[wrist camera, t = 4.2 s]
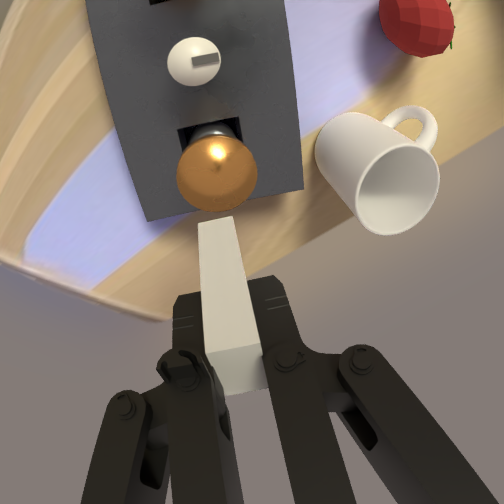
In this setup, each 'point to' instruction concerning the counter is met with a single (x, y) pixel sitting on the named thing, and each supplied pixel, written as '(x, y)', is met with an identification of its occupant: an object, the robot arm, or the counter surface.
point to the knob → (216, 169)
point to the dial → (194, 61)
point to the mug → (381, 167)
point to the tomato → (418, 25)
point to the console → (198, 89)
